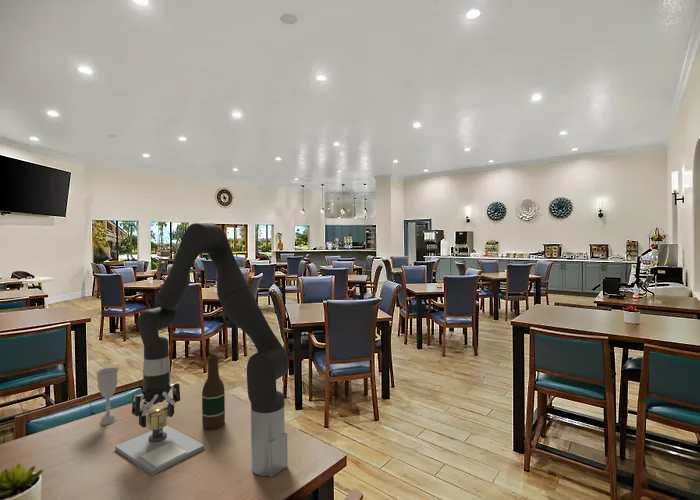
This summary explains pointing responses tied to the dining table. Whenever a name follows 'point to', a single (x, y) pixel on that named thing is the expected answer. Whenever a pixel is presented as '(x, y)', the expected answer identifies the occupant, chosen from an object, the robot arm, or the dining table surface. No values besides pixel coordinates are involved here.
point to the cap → (157, 417)
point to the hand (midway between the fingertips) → (157, 421)
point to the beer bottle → (213, 397)
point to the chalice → (107, 391)
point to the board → (159, 449)
